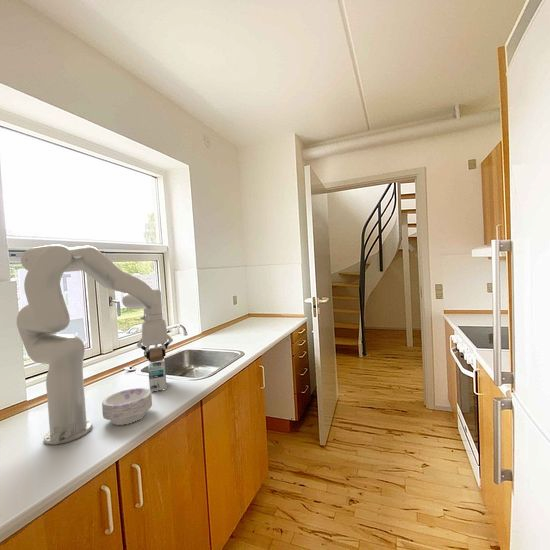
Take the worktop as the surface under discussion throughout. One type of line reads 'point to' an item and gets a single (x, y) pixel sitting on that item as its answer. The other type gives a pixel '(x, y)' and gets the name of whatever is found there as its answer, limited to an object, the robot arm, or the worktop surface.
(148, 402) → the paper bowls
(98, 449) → the worktop surface
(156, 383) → the light bulb box
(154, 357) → the walnut cube
